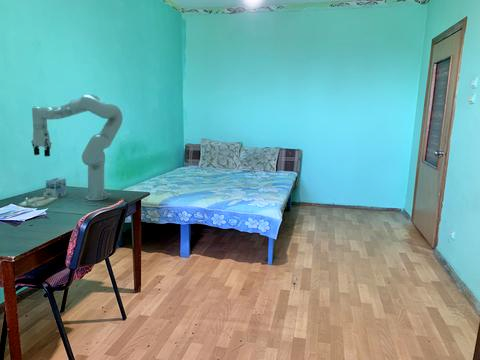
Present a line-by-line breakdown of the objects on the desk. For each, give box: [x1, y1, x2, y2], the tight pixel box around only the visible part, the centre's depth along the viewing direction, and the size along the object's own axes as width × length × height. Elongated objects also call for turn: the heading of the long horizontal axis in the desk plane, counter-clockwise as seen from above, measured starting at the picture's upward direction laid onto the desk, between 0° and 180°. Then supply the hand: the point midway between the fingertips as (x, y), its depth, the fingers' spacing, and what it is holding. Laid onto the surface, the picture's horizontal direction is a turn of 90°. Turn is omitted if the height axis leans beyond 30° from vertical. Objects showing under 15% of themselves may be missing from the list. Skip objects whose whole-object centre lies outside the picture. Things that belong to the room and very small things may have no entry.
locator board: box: [17, 196, 59, 208], centre depth 214 cm, size 14×18×1 cm
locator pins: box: [25, 191, 47, 205], centre depth 213 cm, size 6×16×4 cm, turn 0°
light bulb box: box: [45, 177, 67, 199], centre depth 230 cm, size 11×7×11 cm, turn 171°
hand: (42, 155), depth 226 cm, fingers open, 9 cm apart
